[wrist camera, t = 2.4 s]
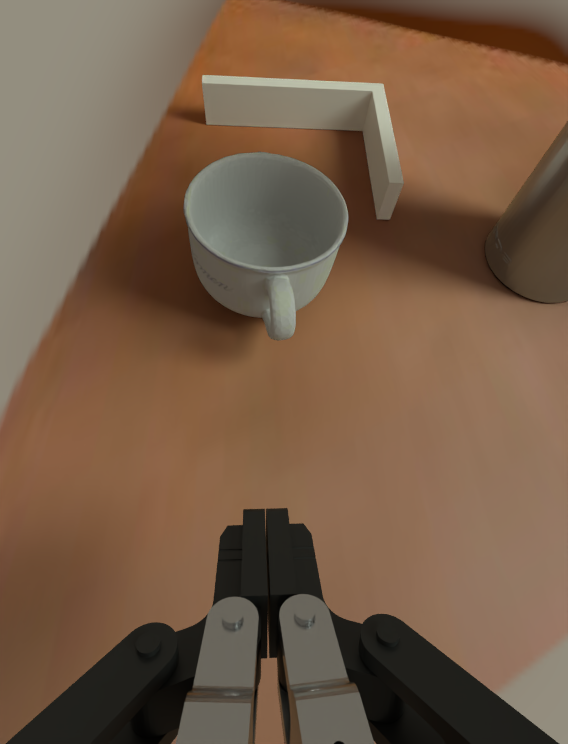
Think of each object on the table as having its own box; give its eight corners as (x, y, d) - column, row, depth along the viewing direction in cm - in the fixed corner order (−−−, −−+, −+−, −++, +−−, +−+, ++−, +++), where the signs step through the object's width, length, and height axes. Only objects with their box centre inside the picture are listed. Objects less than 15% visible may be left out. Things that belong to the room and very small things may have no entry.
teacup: (206, 224, 37) (195, 140, 30) (330, 234, 38) (348, 153, 30) (182, 368, 31) (161, 306, 24) (330, 378, 32) (353, 320, 24)
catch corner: (372, 123, 44) (383, 83, 41) (389, 219, 39) (403, 183, 35) (206, 116, 43) (202, 74, 39) (199, 214, 37) (194, 176, 34)
